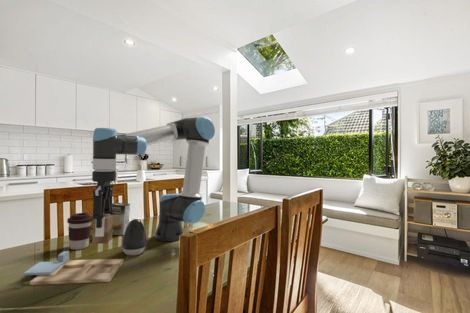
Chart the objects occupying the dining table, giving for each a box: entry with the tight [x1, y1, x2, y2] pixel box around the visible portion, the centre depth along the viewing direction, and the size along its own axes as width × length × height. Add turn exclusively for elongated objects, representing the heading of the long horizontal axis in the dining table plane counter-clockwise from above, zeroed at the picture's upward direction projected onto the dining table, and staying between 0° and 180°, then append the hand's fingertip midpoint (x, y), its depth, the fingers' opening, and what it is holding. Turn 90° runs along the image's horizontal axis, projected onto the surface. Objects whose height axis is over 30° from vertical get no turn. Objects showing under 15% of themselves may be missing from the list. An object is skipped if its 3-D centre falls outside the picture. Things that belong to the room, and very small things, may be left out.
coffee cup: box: [67, 212, 93, 251], centre depth 112 cm, size 10×10×15 cm
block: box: [91, 215, 113, 245], centre depth 89 cm, size 5×5×9 cm
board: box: [29, 258, 125, 286], centre depth 88 cm, size 24×16×2 cm, turn 100°
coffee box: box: [109, 202, 131, 236], centre depth 133 cm, size 9×6×16 cm
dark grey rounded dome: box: [121, 218, 148, 256], centre depth 107 cm, size 10×10×15 cm
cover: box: [22, 250, 70, 276], centre depth 88 cm, size 8×12×3 cm, turn 10°
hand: (102, 233), depth 89 cm, fingers closed on block, 5 cm apart
